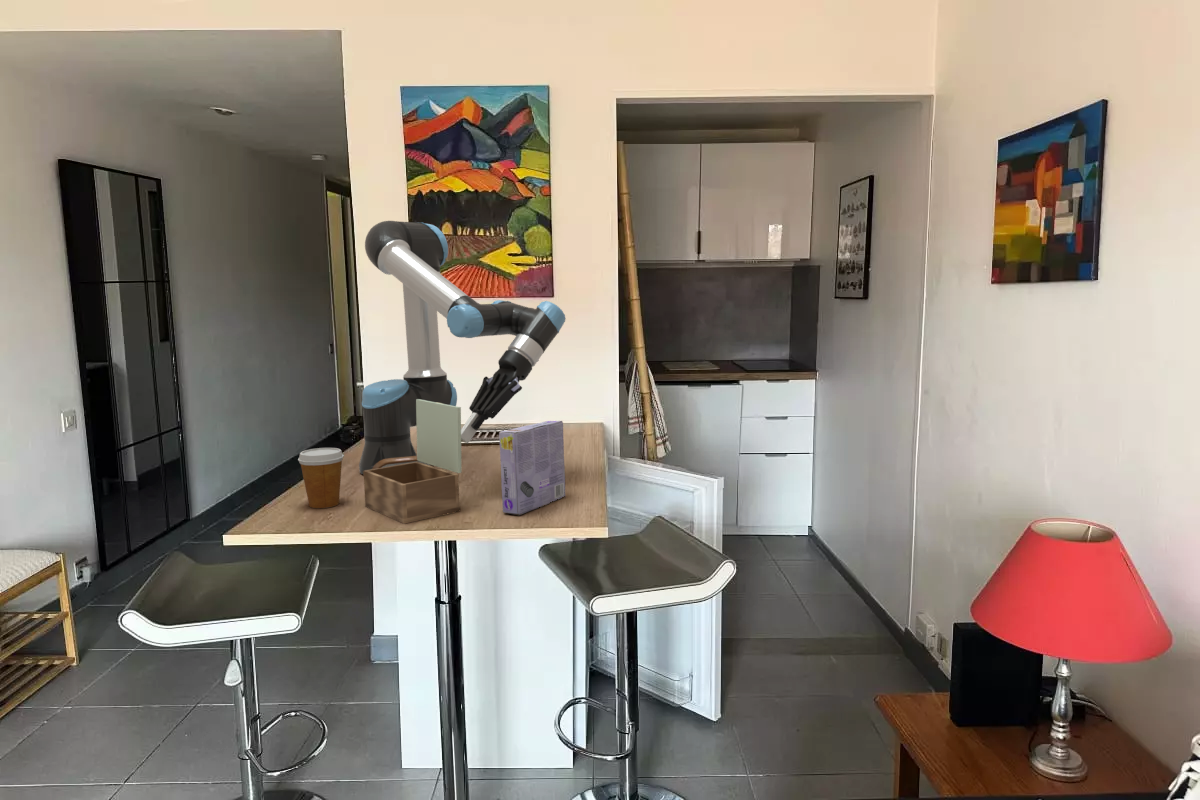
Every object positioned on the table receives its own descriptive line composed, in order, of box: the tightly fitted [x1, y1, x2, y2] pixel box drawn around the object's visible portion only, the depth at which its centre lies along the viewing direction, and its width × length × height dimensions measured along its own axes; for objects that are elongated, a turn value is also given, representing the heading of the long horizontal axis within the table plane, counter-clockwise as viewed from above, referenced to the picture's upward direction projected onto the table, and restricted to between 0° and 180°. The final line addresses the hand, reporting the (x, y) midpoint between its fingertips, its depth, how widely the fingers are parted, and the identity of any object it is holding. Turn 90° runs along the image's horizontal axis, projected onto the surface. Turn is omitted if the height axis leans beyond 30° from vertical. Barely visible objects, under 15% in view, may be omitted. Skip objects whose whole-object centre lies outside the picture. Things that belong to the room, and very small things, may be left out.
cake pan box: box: [498, 420, 566, 516], centre depth 172 cm, size 19×5×18 cm, turn 149°
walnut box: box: [363, 462, 461, 525], centre depth 170 cm, size 18×13×8 cm
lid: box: [416, 399, 462, 474], centre depth 173 cm, size 18×14×1 cm
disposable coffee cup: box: [297, 447, 345, 509], centre depth 175 cm, size 10×10×12 cm
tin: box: [372, 456, 435, 469], centre depth 184 cm, size 15×3×8 cm, turn 117°
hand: (462, 439), depth 176 cm, fingers closed
